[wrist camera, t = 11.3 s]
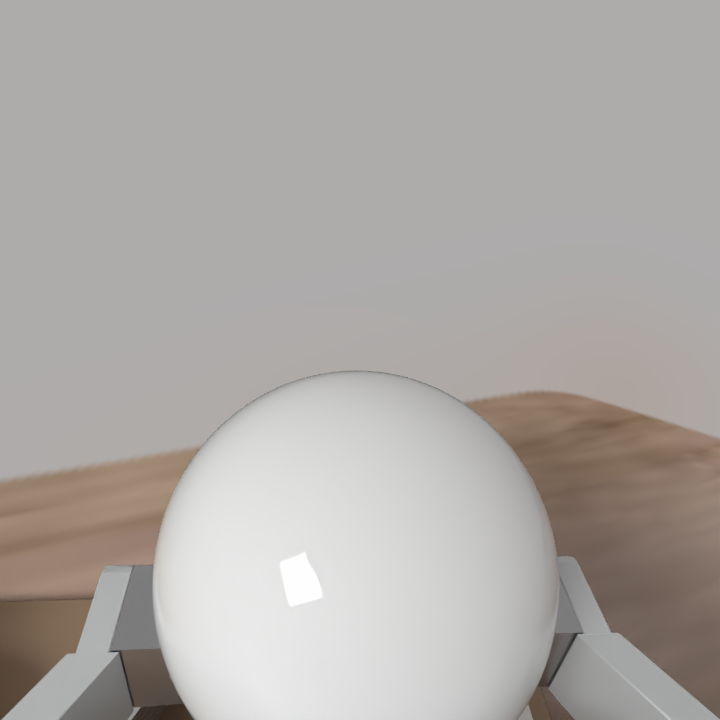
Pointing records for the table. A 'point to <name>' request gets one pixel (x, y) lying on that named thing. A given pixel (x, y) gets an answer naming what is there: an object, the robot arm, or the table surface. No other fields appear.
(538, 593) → the lightbulb
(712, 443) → the table surface
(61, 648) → the socket board
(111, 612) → the robot arm
